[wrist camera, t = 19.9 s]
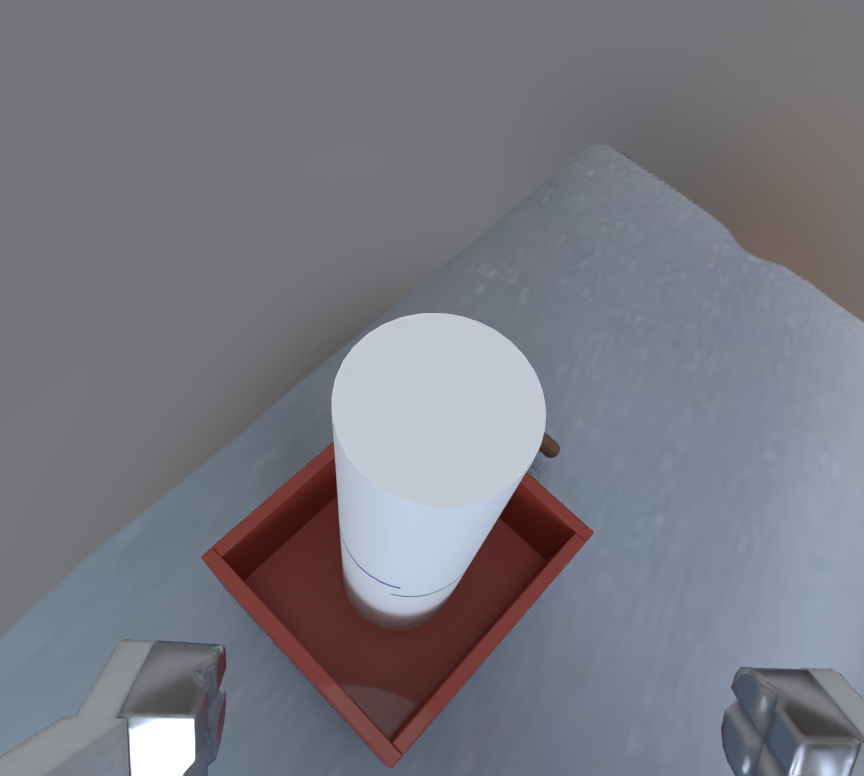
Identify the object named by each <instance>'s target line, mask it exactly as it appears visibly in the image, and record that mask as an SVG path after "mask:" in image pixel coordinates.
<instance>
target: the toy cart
mask: <svg viewBox="0 0 864 776" xmlns="http://www.w3.org/2000/svg"><path fill="white" fill-rule="evenodd" d="M539 451H540V452H542V453H543V454H544V455H545V456H546V457H549V458H553V457H556V456H557V455H558V454H559V451H560V447H559V445H558V443H557V442H555V441H554V440H553V439H552V438H551V437H550V436H549V435H547V434H546V433H545V432H544V435H543V439H542V442H541V446H540V448H539ZM593 533H594V532H593V531H592V530H591V529H590V528H589V527H588V526H586V525H585V524H584V523H583V522H582V521H581V520H580V519H579V518H577V517H576V516H575V515H574V514H573V513H572V512H571V511H570V510H568V509H567V508H566V507H565V506H564V505H563V504H562V503H561V502H560V501H558V500H557V499H556V498H555V497H554V496H553V495H552V494H551V493H549V492H548V491H547V490H546V489H545V488H544V487H543V486H542V485H541V484H539V483H538V482H537V481H536V480H535V479H534V478H533V477H532V476H530V475H529V474H528V473H527V472H526V473H525V475H524V477H523V478H522V480H521V482H520V483H519V485H518V486H517V488H516V490H515V491H514V493H513V495H512V496H511V498H510V500H509V501H508V503H507V504H506V506H505V508H504V509H503V511H502V513H501V514H500V516H499V517H498V519H497V521H496V522H495V524H494V526H493V527H492V529H491V530H490V532H489V534H488V535H487V537H486V539H485V540H484V542H483V543H482V545H481V547H480V548H479V550H478V552H477V553H476V555H475V557H474V558H473V560H472V561H471V563H470V565H469V566H468V568H467V570H466V571H465V573H464V574H463V576H462V578H461V579H460V581H459V583H458V584H457V586H456V587H455V589H454V591H453V592H452V594H451V596H450V597H449V599H448V600H447V602H446V604H445V605H444V607H443V608H442V609H441V610H440V612H439V613H438V614H437V615H436V616H435V617H433V618H432V619H431V620H430V621H429V622H427V623H425V624H423V625H421V626H419V627H416V628H413V629H409V630H400V631H394V630H387V629H383V628H380V627H377V626H375V625H373V624H371V623H370V622H368V621H366V620H365V619H364V618H363V617H362V616H361V615H359V614H358V613H357V611H356V610H355V609H354V607H353V606H352V605H351V603H350V601H349V599H348V596H347V594H346V591H345V587H344V582H343V568H342V552H341V539H340V526H339V511H338V495H337V479H336V464H335V451H334V442H333V443H331V444H330V445H329V446H328V447H327V448H326V449H324V450H323V451H322V452H321V453H320V454H319V455H318V456H316V457H315V458H314V459H313V460H312V461H311V462H309V463H308V464H307V465H306V466H305V467H304V468H303V469H301V470H300V471H299V472H298V473H297V474H296V475H294V476H293V477H292V478H291V479H290V480H289V481H288V482H286V483H285V484H284V485H283V486H282V487H281V488H279V489H278V490H277V491H276V492H275V493H274V494H273V495H271V496H270V497H269V498H268V499H267V500H266V501H264V502H263V503H262V504H261V505H260V506H259V507H258V508H256V509H255V510H254V511H253V512H252V513H251V514H249V515H248V516H247V517H246V518H245V519H244V520H243V521H241V522H240V523H239V524H238V525H237V526H236V527H234V528H233V529H232V530H231V531H230V532H229V533H228V534H226V535H225V536H224V537H223V538H222V539H221V540H219V541H218V542H217V543H216V544H215V545H214V546H213V547H212V548H210V549H209V550H208V551H207V552H206V553H205V554H204V555H202V557H201V558H202V560H203V561H204V562H205V563H206V565H207V566H208V567H209V568H210V570H211V571H212V572H213V573H214V575H215V576H216V577H217V578H218V580H219V581H220V582H221V583H222V585H223V586H224V587H225V588H226V590H227V591H228V592H229V593H230V594H231V595H232V596H233V597H234V598H235V600H236V601H237V602H238V603H239V604H240V605H241V606H242V607H243V608H244V610H245V611H246V612H247V613H248V614H249V615H250V616H251V617H252V618H253V620H254V621H255V622H256V623H257V624H258V625H259V626H260V627H261V628H262V629H263V631H264V632H265V633H266V634H267V635H268V636H269V637H270V638H271V639H272V641H273V642H274V643H275V644H276V645H277V646H278V647H279V648H280V649H281V651H282V652H283V653H284V654H285V655H286V656H287V657H288V658H289V659H290V661H291V662H292V663H293V664H294V665H295V666H296V667H297V668H298V669H299V671H300V672H301V673H302V674H303V675H304V676H305V677H306V678H307V679H308V681H309V682H310V683H311V684H312V685H313V686H314V687H315V688H316V689H317V691H318V692H319V693H320V694H321V695H322V696H323V697H324V698H325V699H326V701H327V702H328V703H329V704H330V705H331V706H332V707H333V708H334V709H335V711H336V712H337V713H338V714H339V715H340V716H341V717H342V718H343V719H344V721H345V722H346V723H347V724H348V725H349V726H350V727H351V728H352V729H353V731H354V732H355V733H356V734H357V735H358V736H359V737H360V738H361V739H362V740H363V742H364V743H365V744H366V745H367V746H368V747H369V748H370V749H371V750H372V752H373V753H374V754H375V755H376V756H377V757H378V758H379V759H380V760H381V762H382V763H383V764H384V765H386V766H388V767H390V768H393V767H394V765H395V764H396V763H397V762H398V761H399V760H400V758H401V757H402V755H403V754H405V753H406V751H407V750H408V749H409V748H410V747H411V746H412V744H413V743H414V742H415V741H416V740H417V739H418V737H419V736H420V735H421V734H422V733H423V732H424V730H425V729H426V728H427V727H428V726H429V725H430V723H431V722H432V721H433V720H434V719H435V718H436V716H437V715H438V714H439V713H440V712H441V711H442V709H443V708H444V707H445V706H446V705H447V704H448V702H449V701H450V700H451V699H452V698H453V697H454V695H455V694H456V693H457V692H458V691H459V690H460V688H461V687H462V686H463V685H464V684H465V683H466V681H467V680H468V679H469V678H470V677H471V676H472V674H473V673H474V672H475V671H476V670H477V669H478V667H479V666H480V665H481V664H482V663H483V662H484V660H485V659H486V658H487V657H488V656H489V655H490V653H491V652H492V651H493V650H494V649H495V648H496V646H497V645H498V644H499V643H500V642H501V641H502V639H503V638H504V637H505V636H506V635H507V634H508V632H509V631H510V630H511V629H512V628H513V627H514V625H515V624H516V623H517V622H518V621H519V620H520V618H521V617H522V616H523V615H524V614H525V613H526V611H527V610H528V609H529V608H530V607H531V606H532V604H533V603H534V602H535V601H536V600H537V599H538V597H539V596H540V595H541V594H542V593H543V592H544V590H545V589H546V588H547V587H548V586H549V585H550V583H551V582H552V581H553V580H554V579H555V578H556V576H557V575H558V574H559V573H560V572H561V571H562V570H563V568H564V567H565V566H566V565H567V564H568V563H569V561H570V560H571V559H572V558H573V557H574V556H575V554H576V553H577V552H578V551H579V550H580V549H581V547H582V546H583V545H584V544H585V542H586V541H587V540H588V539H589V538H590V537H591V536H592V534H593Z"/></svg>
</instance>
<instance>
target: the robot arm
mask: <svg viewBox="0 0 864 776" xmlns="http://www.w3.org/2000/svg"><path fill="white" fill-rule="evenodd" d="M225 669H226V652H225V648H224V645H218V644H203V643H187V642H172V641H152V640H133V639H124V640H122V641H121V642H120V643H118V644H117V645H116V647H115V649H114V650H113V652H112V654H111V656H110V657H109V659H108V661H107V662H106V664H105V666H104V668H103V669H102V671H101V673H100V674H99V676H98V678H97V679H96V681H95V683H94V685H93V686H92V688H91V690H90V691H89V693H88V695H87V697H86V698H85V700H84V702H83V703H82V705H81V707H80V708H79V710H78V712H77V714H76V715H75V717H63V718H61V719H59V720H58V721H56V722H55V723H53V724H51V725H50V726H48V727H47V728H45V729H43V730H42V731H40V732H39V733H37V734H35V735H34V736H32V737H31V738H29V739H27V740H26V741H24V742H22V743H21V744H19V745H18V746H16V747H14V748H13V749H11V750H10V751H8V752H6V753H5V754H3V755H2V756H0V776H208V766H209V765H210V764H211V763H212V762H213V761H215V760H216V756H217V753H218V749H219V746H220V742H221V736H222V731H223V726H224V718H225V707H226V692H225V691H224V689H223V688H222V687H221V686H220V684H221V681H222V678H223V675H224V672H225ZM731 689H732V690H733V692H734V694H735V696H736V698H737V700H736V701H735V702H734V703H733V704H732V705H731V706H730V707H729V708H728V709H727V710H725V714H724V718H723V723H722V728H721V731H722V743H723V749H724V752H725V755H726V758H727V761H728V763H729V765H730V767H731V769H732V771H733V773H734V774H735V776H864V699H863V698H862V697H861V696H860V695H859V694H858V693H857V692H856V690H855V689H854V688H853V687H852V686H851V685H850V684H849V683H848V681H847V680H846V679H845V678H844V677H843V676H842V675H841V674H840V673H838V672H836V671H835V670H833V669H816V668H801V669H779V668H752V667H740V669H739V670H738V671H737V672H736V674H735V676H734V679H733V683H732V687H731Z"/></svg>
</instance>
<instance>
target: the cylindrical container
mask: <svg viewBox="0 0 864 776" xmlns="http://www.w3.org/2000/svg"><path fill="white" fill-rule="evenodd" d="M545 421H546V407H545V401H544V395H543V390H542V388H541V385H540V382H539V380H538V377H537V375H536V372H535V371H534V369H533V368H532V366H531V365H530V363H529V362H528V360H527V359H526V357H525V356H524V355H523V354H522V352H521V351H520V350H519V349H518V348H517V347H516V346H515V345H514V344H513V343H512V342H511V341H510V340H508V339H507V338H505V337H504V336H503V335H501V334H500V333H499V332H497V331H496V330H494V329H492V328H490V327H488V326H486V325H484V324H482V323H480V322H478V321H475V320H472V319H469V318H466V317H463V316H458V315H451V314H445V313H421V314H415V315H410V316H404V317H401V318H398V319H395V320H393V321H390V322H388V323H385V324H383V325H381V326H379V327H378V328H376V329H375V330H373V331H371V332H370V333H368V334H367V335H366V336H365V337H363V338H362V339H361V340H360V341H359V342H358V343H357V344H356V345H355V346H354V347H353V348H352V349H351V351H350V352H349V354H348V355H347V356H346V358H345V359H344V361H343V362H342V364H341V367H340V369H339V371H338V373H337V376H336V378H335V383H334V387H333V392H332V425H333V438H334V451H335V464H336V479H337V495H338V511H339V526H340V539H341V552H342V568H343V582H344V587H345V591H346V594H347V596H348V599H349V601H350V603H351V605H352V606H353V607H354V609H355V610H356V611H357V613H358V614H359V615H361V616H362V617H363V618H364V619H365V620H366V621H368V622H370V623H371V624H373V625H375V626H377V627H380V628H383V629H387V630H394V631H400V630H409V629H413V628H416V627H419V626H421V625H423V624H425V623H427V622H429V621H430V620H431V619H432V618H433V617H435V616H436V615H437V614H438V613H439V612H440V610H441V609H442V608H443V607H444V605H445V604H446V602H447V600H448V599H449V597H450V596H451V594H452V592H453V591H454V589H455V587H456V586H457V584H458V583H459V581H460V579H461V578H462V576H463V574H464V573H465V571H466V570H467V568H468V566H469V565H470V563H471V561H472V560H473V558H474V557H475V555H476V553H477V552H478V550H479V548H480V547H481V545H482V543H483V542H484V540H485V539H486V537H487V535H488V534H489V532H490V530H491V529H492V527H493V526H494V524H495V522H496V521H497V519H498V517H499V516H500V514H501V513H502V511H503V509H504V508H505V506H506V504H507V503H508V501H509V500H510V498H511V496H512V495H513V493H514V491H515V490H516V488H517V486H518V485H519V483H520V482H521V480H522V478H523V477H524V475H525V473H526V472H527V470H528V469H529V467H530V465H531V464H532V462H533V460H534V458H535V456H536V454H537V452H538V450H539V448H540V446H541V442H542V439H543V435H544V431H545Z"/></svg>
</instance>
